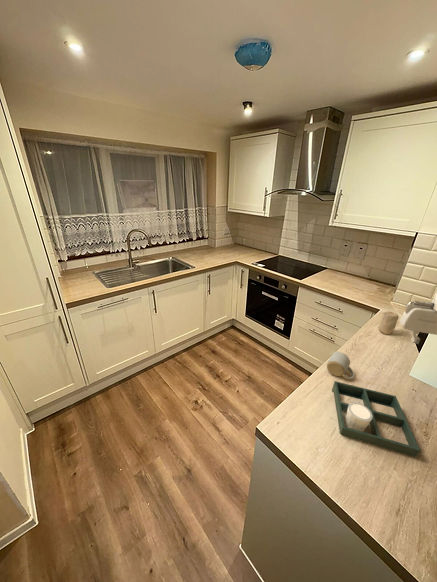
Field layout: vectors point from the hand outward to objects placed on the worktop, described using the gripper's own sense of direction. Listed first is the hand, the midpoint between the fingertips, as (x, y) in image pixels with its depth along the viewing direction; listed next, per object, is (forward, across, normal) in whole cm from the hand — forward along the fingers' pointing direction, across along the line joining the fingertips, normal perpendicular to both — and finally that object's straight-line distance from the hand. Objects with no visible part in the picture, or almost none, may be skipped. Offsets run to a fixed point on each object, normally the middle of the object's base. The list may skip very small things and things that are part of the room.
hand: (432, 345), depth 72 cm
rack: (+29, -12, -8) cm, 32 cm away
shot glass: (+28, -17, -13) cm, 35 cm away
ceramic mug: (+29, -18, +14) cm, 37 cm away
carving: (+29, +11, +58) cm, 66 cm away
